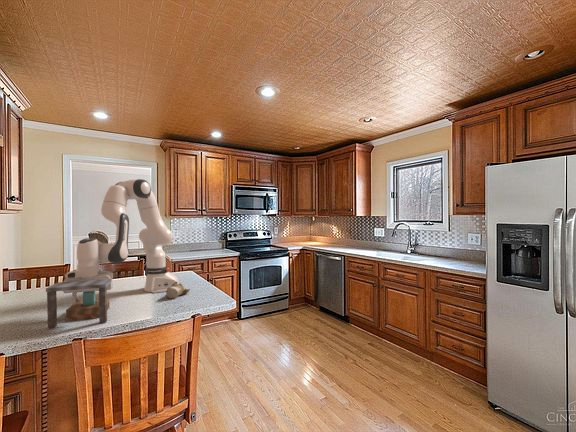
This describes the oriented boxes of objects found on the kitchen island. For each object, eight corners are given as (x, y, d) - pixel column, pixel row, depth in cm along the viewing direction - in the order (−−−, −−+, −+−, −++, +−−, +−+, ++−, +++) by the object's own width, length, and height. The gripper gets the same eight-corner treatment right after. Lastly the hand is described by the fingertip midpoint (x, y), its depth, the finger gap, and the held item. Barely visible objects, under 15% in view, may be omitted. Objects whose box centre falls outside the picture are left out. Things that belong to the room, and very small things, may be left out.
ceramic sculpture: (160, 283, 164) (175, 278, 179) (160, 299, 163) (174, 293, 178) (178, 284, 162) (191, 279, 177) (178, 300, 162) (191, 294, 177)
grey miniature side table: (118, 306, 151) (117, 273, 151) (106, 323, 130) (105, 284, 129) (68, 311, 144) (67, 276, 144) (46, 329, 123) (45, 288, 122)
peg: (95, 312, 144) (95, 289, 143) (92, 314, 140) (92, 292, 139) (86, 312, 142) (85, 290, 142) (83, 315, 139) (82, 292, 138)
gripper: (114, 269, 147) (115, 296, 147) (66, 272, 140) (67, 300, 141) (111, 271, 141) (111, 300, 141) (60, 275, 134) (61, 304, 135)
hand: (89, 300), depth 141 cm, fingers open, 8 cm apart
